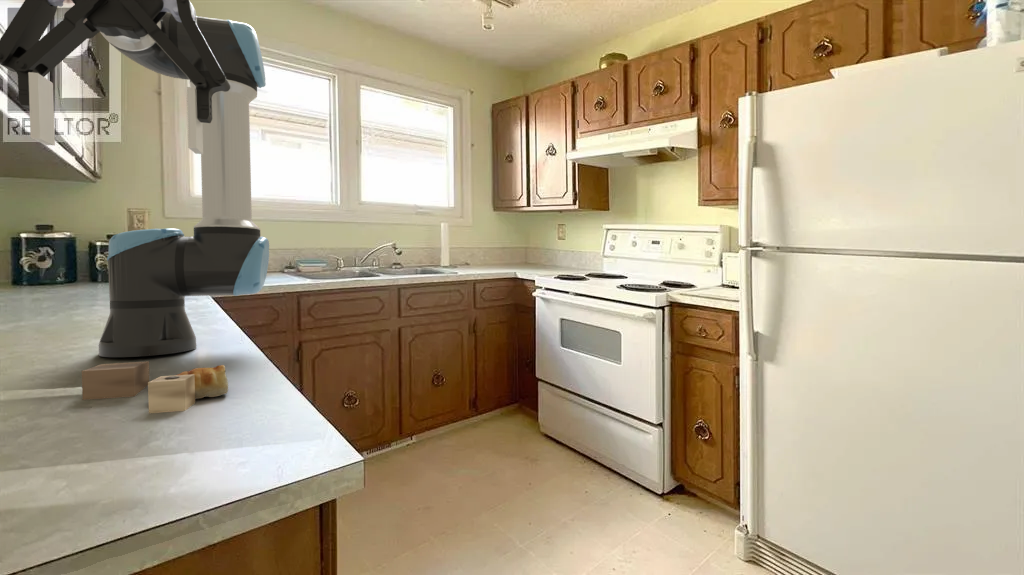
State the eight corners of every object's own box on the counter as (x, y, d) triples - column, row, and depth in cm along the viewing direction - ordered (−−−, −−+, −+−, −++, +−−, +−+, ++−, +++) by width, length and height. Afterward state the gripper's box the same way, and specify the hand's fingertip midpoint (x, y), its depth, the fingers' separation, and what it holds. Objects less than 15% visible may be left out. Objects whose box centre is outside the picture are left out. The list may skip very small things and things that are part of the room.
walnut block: (102, 394, 75) (101, 364, 75) (149, 390, 77) (149, 361, 76) (82, 403, 69) (81, 371, 69) (134, 399, 71) (133, 367, 71)
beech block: (161, 406, 67) (160, 375, 67) (195, 403, 68) (194, 373, 68) (148, 414, 63) (147, 381, 63) (185, 411, 64) (184, 379, 64)
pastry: (149, 406, 65) (147, 378, 65) (151, 395, 71) (149, 368, 71) (231, 394, 71) (230, 368, 70) (226, 385, 76) (225, 360, 76)
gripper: (-67, -110, 45) (-58, 126, 46) (241, -55, 53) (246, 146, 54) (-11, -57, 52) (-4, 147, 53) (254, -16, 60) (258, 161, 61)
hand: (122, 147), depth 53 cm, fingers open, 13 cm apart
